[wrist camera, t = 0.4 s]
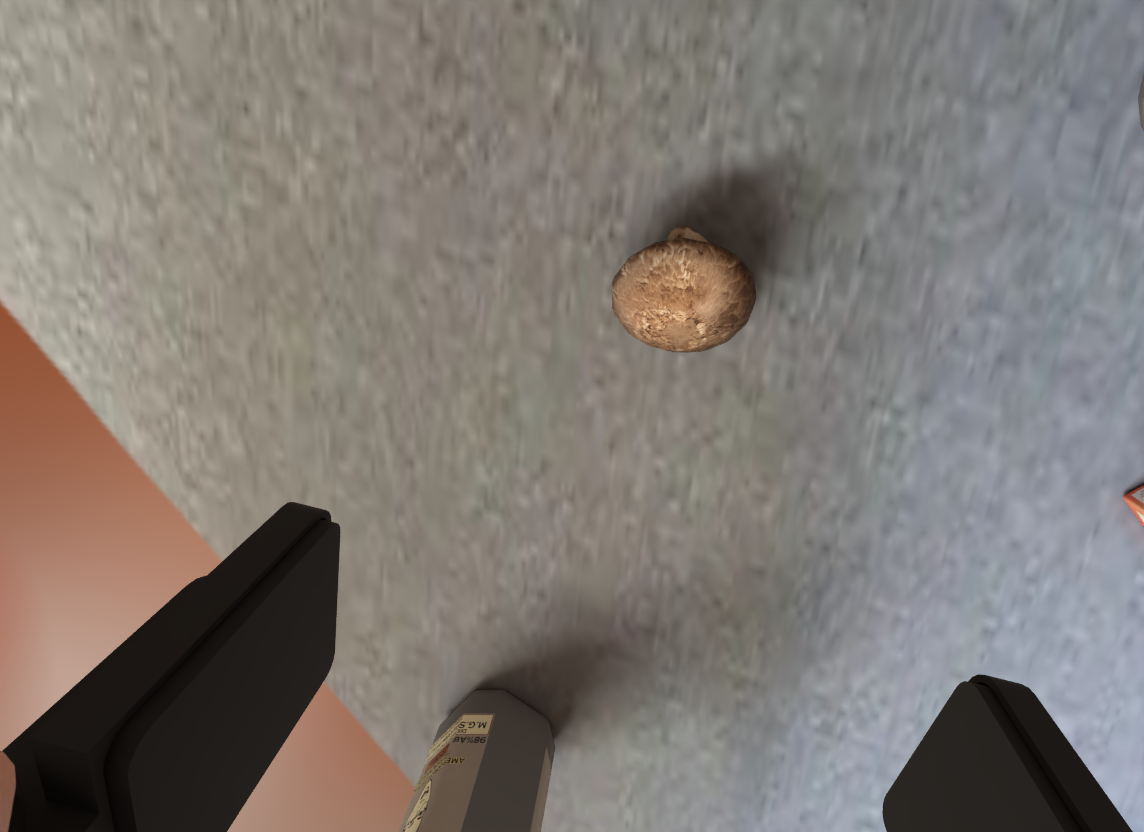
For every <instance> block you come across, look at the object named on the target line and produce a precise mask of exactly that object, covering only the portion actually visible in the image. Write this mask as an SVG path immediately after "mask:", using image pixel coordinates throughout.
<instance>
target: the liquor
mask: <svg viewBox="0 0 1144 832" xmlns="http://www.w3.org/2000/svg"><path fill="white" fill-rule="evenodd" d="M554 752H555V746H554V741H553V737H552V732H551V728H550V725H549V722H548V720H547V718H546V717H545V716H543V715H541V714H540V713H538V712H537V711H535V710H534V709H532V708H531V707H529V706H528V705H526V704H524V703H523V702H521V701H520V700H518V699H517V698H515V697H514V696H512V695H511V694H509V693H507V692H506V691H504V690H475V691H474V692H473V693H472V694H471V695H470V696H469V697H468V698H467V699H466V700H465V701H464V702H463V703H462V704H461V705H460V706H459V707H458V708H457V709H456V710H455V711H454V712H453V713H452V714H451V715H450V716H449V717H448V718H447V719H446V720H445V721H444V722H443V723H442V724H441V725H440V726H439V729H438V732H437V734H436V737H435V739H434V742H433V745H432V747H431V750H430V752H429V755H428V758H427V760H426V763H425V765H424V768H423V770H422V773H421V776H420V778H419V781H418V783H417V786H416V789H415V791H414V794H413V796H412V799H411V802H410V804H409V807H408V809H407V812H406V815H405V817H404V820H403V823H402V825H401V828H400V830H399V832H541V827H542V821H543V815H544V809H545V804H546V798H547V792H548V786H549V781H550V775H551V769H552V763H553V758H554Z"/></svg>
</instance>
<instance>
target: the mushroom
mask: <svg viewBox="0 0 1144 832" xmlns="http://www.w3.org/2000/svg"><path fill="white" fill-rule="evenodd" d="M755 300H756V291H755V286H754V280H753V275H752V273H751V271H750V270H749V268H748V267H747V266H746V265H745V264H744V263H743V262H742V261H741V259H740V258H739V257H738V256H737V255H736V254H734V253H732V252H729V251H727V250H725V249H723V248H721V247H719V246H717V245H715V244H712V243H708V241H707V240H706V239H705V238H704V237H703V236H702V235H700V234H699V233H698V232H696V231H694V230H693V229H691V228H689V227H679V228H676V229H673V230H672V231H671V232H670V234H669V235H668V240H667V241H661V242H656V243H654V244H652V245H650V246H648V247H647V248H645V249H643V250H641V251H640V252H638V253H636V254H634V255H633V256H631V257H630V258H628V260H627V261H626V262H625V264H624V265H623V266H622V268H621V269H620V271H619V272H618V273H617V275H616V276H615V278H614V280H613V282H612V308H613V310H614V313H615V315H616V316H617V318H618V319H619V321H620V322H621V324H622V325H623V327H624V328H625V329H626V331H627V332H628V333H629V334H630V335H632V336H633V337H635V338H637V339H638V340H640V341H642V342H644V343H645V344H647V345H649V346H653V347H656V348H660V349H663V350H667V351H672V352H700V351H705V350H708V349H711V348H713V347H716V346H718V345H720V344H723V343H725V342H727V341H729V340H730V339H731V338H732V337H733V336H734V335H735V334H736V333H737V332H738V331H739V330H740V329H742V328H743V327H744V326H745V325H746V323H747V322H748V320H749V317H750V314H751V312H752V309H753V306H754V304H755Z"/></svg>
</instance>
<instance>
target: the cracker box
mask: <svg viewBox="0 0 1144 832" xmlns="http://www.w3.org/2000/svg"><path fill="white" fill-rule="evenodd" d="M1123 498H1124V500H1125V501H1126V503H1127V504H1128V505H1129V507H1130V508H1131V510H1132V511H1133V512H1134V514H1135V515H1136V516H1137V518H1138V519H1139V521H1140V522H1141V524H1142V525H1143V526H1144V485H1143V486H1141V487H1139V488H1137V489H1135V490H1133V491H1131V492H1130V493H1128V494H1126V495H1124V496H1123Z"/></svg>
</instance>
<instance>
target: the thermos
mask: <svg viewBox="0 0 1144 832" xmlns="http://www.w3.org/2000/svg"><path fill="white" fill-rule="evenodd" d="M1138 99H1139V109H1140V120H1141V126H1142V128H1143V130H1144V76H1143V81H1142V85H1141V89H1140V93H1139V98H1138Z"/></svg>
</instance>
